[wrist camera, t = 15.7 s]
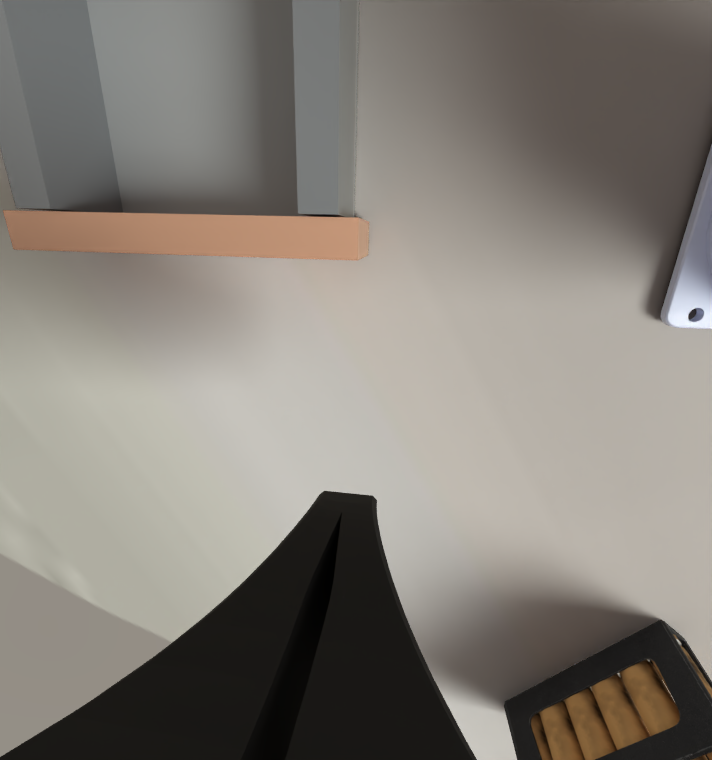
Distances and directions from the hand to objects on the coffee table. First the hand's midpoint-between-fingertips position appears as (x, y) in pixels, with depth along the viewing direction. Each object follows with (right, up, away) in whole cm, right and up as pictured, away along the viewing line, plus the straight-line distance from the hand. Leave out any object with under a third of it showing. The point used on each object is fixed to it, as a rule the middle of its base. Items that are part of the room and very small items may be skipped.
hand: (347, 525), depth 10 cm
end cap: (-5, +10, +6) cm, 12 cm away
